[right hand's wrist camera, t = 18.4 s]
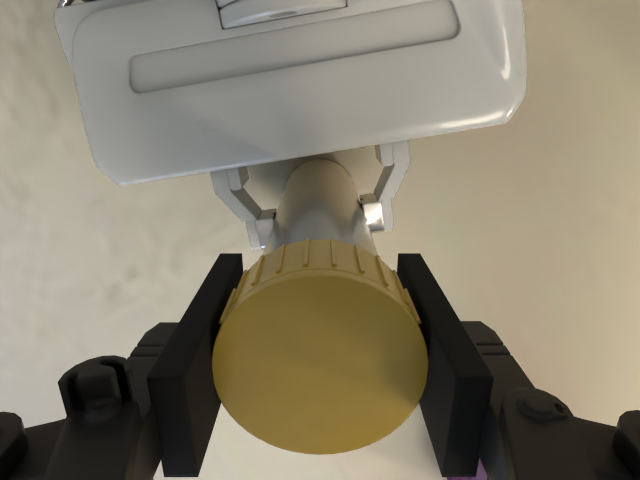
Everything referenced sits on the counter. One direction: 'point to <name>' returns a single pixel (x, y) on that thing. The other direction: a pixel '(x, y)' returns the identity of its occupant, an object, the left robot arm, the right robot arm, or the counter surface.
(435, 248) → the counter surface
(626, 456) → the right robot arm
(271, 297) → the lid
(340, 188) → the bottle
